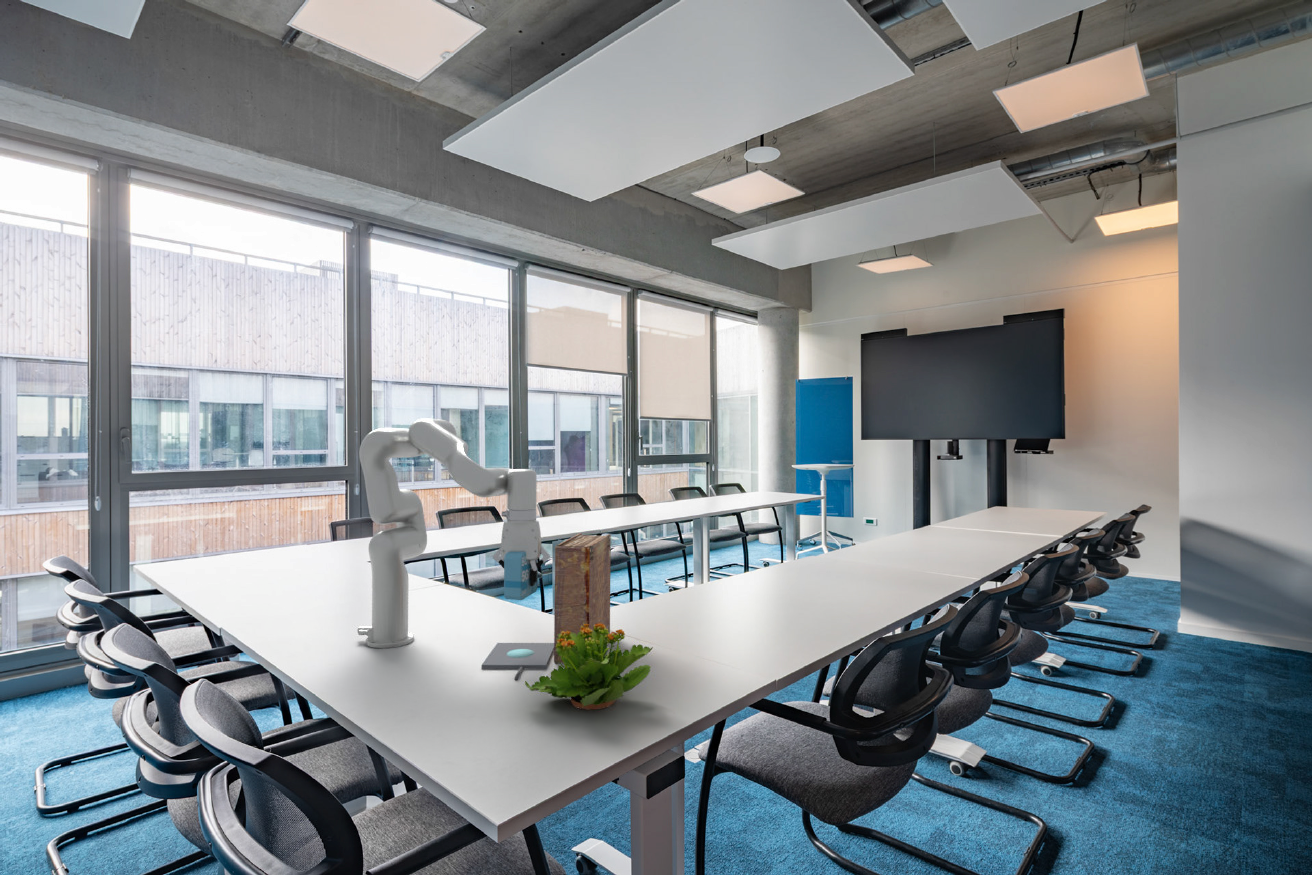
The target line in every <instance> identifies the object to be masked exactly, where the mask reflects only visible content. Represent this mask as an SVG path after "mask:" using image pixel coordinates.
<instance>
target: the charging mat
mask: <svg viewBox="0 0 1312 875" xmlns="http://www.w3.org/2000/svg"><path fill="white" fill-rule="evenodd" d="M553 655H554V642H496V644H495V646H494V647H493V648H492V650H491V651H490V652H489V654H488V656H487V657H486V658H485V660H484V661H483V663H482V664H481V670H518V671H517V673H516V674H515V675H514V678H513V679H514V680H515V681H517V680H518V679H519V677H520V675H521V673H522V672H523V670H547V668H548V665H549V664H550V660H551V659H552V656H553Z"/></svg>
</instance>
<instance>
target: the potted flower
mask: <svg viewBox="0 0 1312 875" xmlns="http://www.w3.org/2000/svg"><path fill="white" fill-rule="evenodd" d="M588 626H589V624H584V627H583V626H582V625H581V629H579V630H580V632H578V633H577V635H576V633H572V632H570V631H566V632H564V631H562V632H561V634H558V635H557V636H558V637H559V638H557V639H556V642H557V644H556V648H557V649H556V652H557V654H559V656H561V660H562V661H563V663H560V662H559V663H558V664H560V665H558V667H557V668H553V670H551V672H550V677H549V675H546V676H545V675H541V676H540V677H539V679H538V680H537V681H535V682H534V683H533V684H532V685H531V686H530V684H529V683H528V682H527V680H525V681H524V685H525V686H526V688H528V689H529V690H530V691H532V692H533V691H538V692H539V693H547V694H548V695H550V696H551V697H553V698H558V699H568V698H570V702H571V704H572V705H573V706H574V707H575V708H577V709H582V710H588V711H589V710H601V709H605V708H608V707H610V706H613V704H614V703H615V701H616V700H618V699H620V698H622V697H623V696H624V693H626V692H628V691H630V690H632V689H634V688H636V686H638V685H639V684H640V683H642V682H643V681H644V679H646V678H647V676H649V673H650V671H651V668H652V666H651V665H650V664H649V665H648V664H644V665H639V666H638V667H637V666H636V667H634V668H633V669H630V671H628V672H626V673H625V674H624V675H623V676H621V675H622V674H623V672H624V671H625V670H627V669H628V668H629V667H630V666H632V665H633V664H634V663H635V662H637V661H638V660H640V659H641V658H644V656H647V655H648V654H649V653H651V651H652V650H653V648H654V646H652V647H650V646H643V644H638V645H636V644H632V646H631V648H630V650H629V649H624V650H623V651H622V649H621V648H620V646H619V644H620V642H622V640H625V638H626V636H625V635H626V633H625V630H623V629H620V628H619V629H617V630H615V631H610V634H609V632H608V629H606V628H605V625H604V624H601V623H598V624H595V625H594V630H590V629H589V627H588ZM606 634H607V635H606ZM615 643H617V645H616V648H615ZM609 644H610V647H608V645H609ZM613 648H615V649H613Z"/></svg>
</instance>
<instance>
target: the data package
mask: <svg viewBox="0 0 1312 875" xmlns="http://www.w3.org/2000/svg"><path fill="white" fill-rule="evenodd" d="M538 561H539V558H538V559H537V562H538ZM503 570H504V573H503V596H504V599H505V600H512V601H513V600H514V601H522V600H524V599H526V598H528V597H530V596H531V595H532V594H535V593H536V592H537V590H538V585H539V584H538V580H539V579H538V576H539V575H538V572H539V571H538V570H539V568H538V569H537V582H535V584H534V586H530V572H531V570H532V566H531V563H530V560H526V552H507V553H506V555H505V558H504V568H503Z"/></svg>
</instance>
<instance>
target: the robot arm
mask: <svg viewBox="0 0 1312 875" xmlns="http://www.w3.org/2000/svg"><path fill="white" fill-rule="evenodd" d="M468 453H469V445H468V443H467V442H466V441H465V440H463V439H461V438H460V437H459V436H457V430H456V428H455V426H454V425H453V424H452V423H451V422H449V421H448V420H446V419H439V418H420V419H417V420H416V421H414V422H413V423H412V424H410V426H409V428H398V427H384V428H383V427H381V428H377V429H374V430H372V431H370V432H369V433H367V434H366V435H365V436H364V438H363V439H362V441H361V444H360V446H359V454H358V456H359V461H360V466H361V469H362V474H363V476H364V485H365V486H364V487H365V492H366V498H367V505H368V513H369V517H370V519H371V520H372V522H374V523H375V524H377V525H381V526H383V525H392V524H395V525H396V527H392V528H387V529H384V530H381V531H378V532H377V533H375V534H373V536H372V538H371V539H370V540H369V544H368V555H369V560H370V566H371V625H370V626H358V628H357V634H358V635H359V636H367V637H366V638H365V645H366V646H367V647H370V648H376V649H389V648H397V647H401V646H405V645H407V644H410V643H412V642H413V641H414V640H415V635H414V634H413V633H412V632H409V574H408V570H407V568H406V564H405V562H404V561H405V560H410V559H414V558H417V557H418V556H421V555H423V553H424V552H425V550H426V548H427V544H428V535H427V534H428V533H427V528H426V521H425V519H426V518H425V515H424V514H425V513H424V508H423V507H424V506H423V503H422V500H421V498H420V496H419V495H418V494H417V493H416V492H415V491H413V490H412V489H408V488H402V489H400V486H399V482H398V475H397V471H396V470H395V468H394V466H393V464H391V462H390V460H391V459H400V458H402V459H404V458H405V459H406V458H407V459H408V458H416V457H420V456H424V455H428V456H430V457H431V458H432V459H434V460H435V461H437V462H438V463H440V464H441V465H443V467H445V468H446V470H447V472H448V474H449V476H450V477H451V478H452V480H453V481H454V482H455V483H456V484H457V485H458V486H460V487H462V489H464V490H466V491H467V492H469V493H470V494H473V495H474V496H476V497H478V498H479V497H480V498H490V497H499V496H506V495H507V499H506V501H507V502H506V503H507V504H506V505H507V506H506V507H507V508H506V510H505V511H501V517H503V518H505V519H506V520H504V521H503V524H502V525H503V526H502V530H501V543H500V547H499V548H498V549H497V550H496V552H495V553H494V554H493V555H492V559H493V560H494V561H495V562H497V563H498V564H499V566H500V567H502V568H503V569H504V558H505V555H506V553H507V552H526V560H530V563H531V566H532V570H531V572H530V586H534V584H535V582H537V569H538V570H539V568H540V567H541V566H542V565H543V564H544V563H545V562H547V561H548V560H549V559H550V558H551V554H550V553H549V552H548V551H547V550H546V549H545V548H544V546H543V545H542V536H541V535H542V533H541V526H540V522H539V520H537V489H538V488H537V486H538V485H537V484H538V483H537V481H538V480H537V479H538V478H537V472H536V471H535V470H534V469H530V468H515V469H513V468H508V467H483V466H481V465H480V464H478V463H477V462H475V461H474V460H472V459H471V458H470V457H469V456H468ZM541 556H542V558H541V559H539V558H540V557H541ZM537 559H538V562H537Z"/></svg>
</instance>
